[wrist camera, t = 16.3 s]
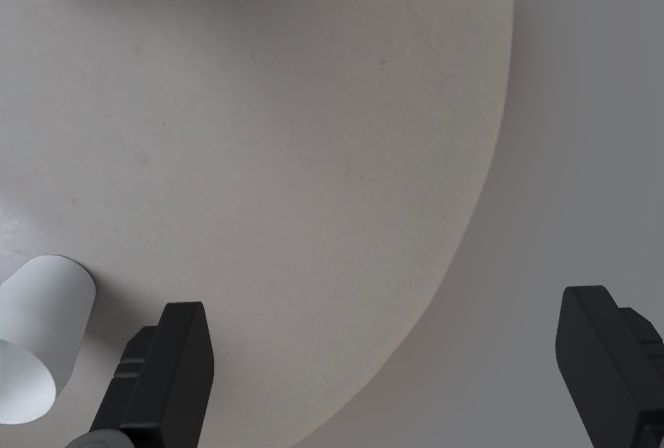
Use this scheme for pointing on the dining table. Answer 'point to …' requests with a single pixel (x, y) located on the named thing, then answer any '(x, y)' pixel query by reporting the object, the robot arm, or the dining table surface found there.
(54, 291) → the cup
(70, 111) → the dining table surface
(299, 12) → the dining table surface
